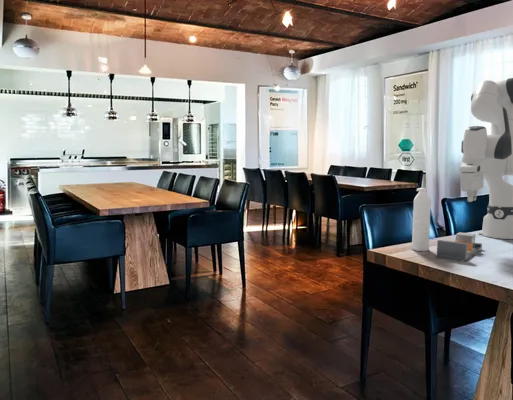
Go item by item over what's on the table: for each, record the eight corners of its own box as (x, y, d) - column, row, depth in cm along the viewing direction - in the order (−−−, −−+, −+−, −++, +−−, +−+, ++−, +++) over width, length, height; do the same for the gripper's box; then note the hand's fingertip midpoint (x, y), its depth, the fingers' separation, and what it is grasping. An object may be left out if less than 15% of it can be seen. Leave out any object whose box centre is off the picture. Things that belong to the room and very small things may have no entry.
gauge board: (455, 246, 189) (456, 231, 189) (481, 249, 183) (482, 234, 182) (436, 256, 171) (437, 240, 170) (465, 261, 165) (466, 244, 164)
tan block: (458, 244, 186) (459, 232, 185) (474, 246, 182) (475, 234, 181) (455, 246, 182) (455, 234, 181) (471, 248, 178) (472, 236, 177)
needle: (453, 246, 182) (453, 241, 181) (472, 249, 177) (472, 243, 177) (452, 247, 180) (452, 242, 180) (471, 249, 176) (471, 244, 176)
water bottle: (414, 247, 187) (416, 186, 184) (430, 249, 184) (433, 187, 181) (408, 251, 180) (410, 188, 177) (425, 253, 177) (427, 189, 174)
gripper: (472, 165, 193) (470, 198, 195) (458, 167, 177) (456, 202, 179) (488, 166, 189) (486, 199, 191) (475, 168, 173) (473, 204, 175)
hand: (471, 201), depth 185 cm, fingers open, 3 cm apart
